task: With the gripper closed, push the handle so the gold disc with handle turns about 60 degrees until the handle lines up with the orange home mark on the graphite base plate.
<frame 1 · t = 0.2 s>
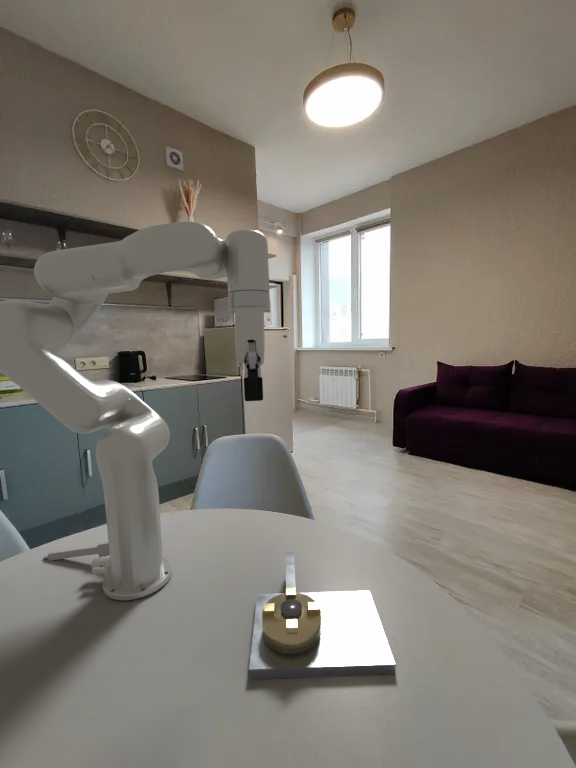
hand: (253, 396, 67), 36 cm above the table, tool pointing down, fingers open, 9 cm apart
base plate: (317, 633, 57), on the table
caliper: (85, 563, 78), on the table, touching arm
gold disc with handle: (290, 592, 61), point 4 cm above the table, hinge at 0.0°
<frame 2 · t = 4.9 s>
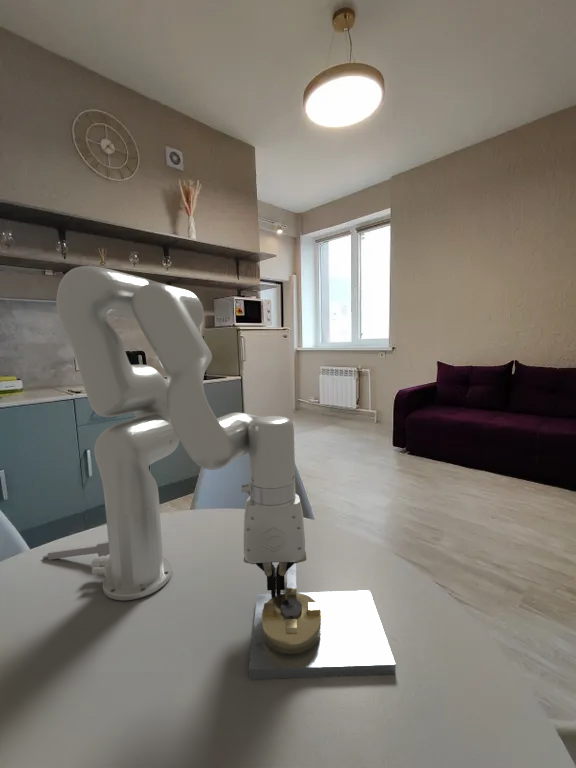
hand: (276, 592, 62), 3 cm above the table, tool pointing down, fingers closed
gold disc with handle: (291, 592, 61), point 4 cm above the table, hinge at 1.7°, touching gripper
everything else where it was.
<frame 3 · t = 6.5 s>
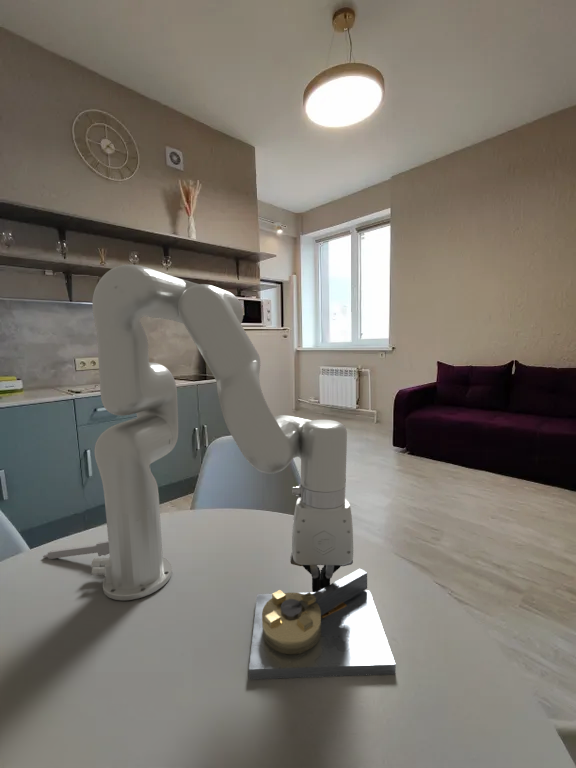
hand: (320, 594, 63), 2 cm above the table, tool pointing down, fingers closed
gold disc with handle: (320, 601, 59), point 4 cm above the table, hinge at 55.2°
everything else where it was.
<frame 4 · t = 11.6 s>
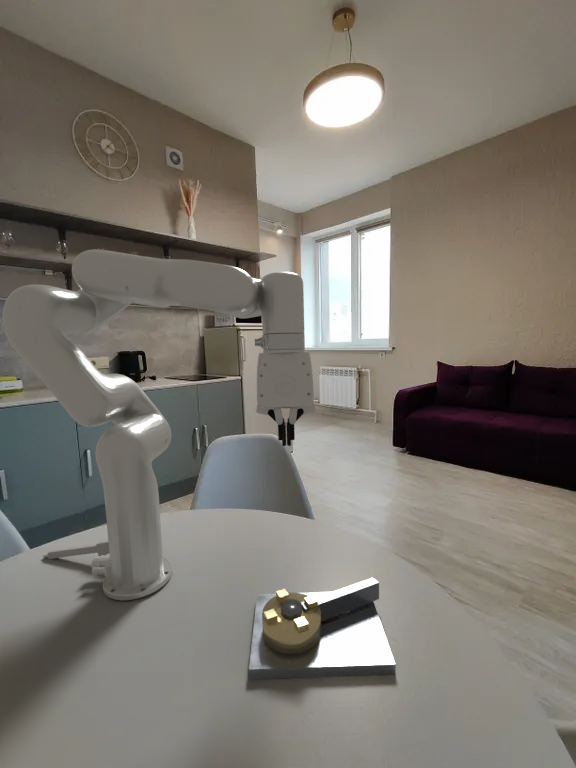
hand: (286, 443, 67), 27 cm above the table, tool pointing down, fingers closed
gold disc with handle: (324, 605, 58), point 4 cm above the table, hinge at 66.2°
everything else where it was.
at the end: gold disc with handle at +66° (first picture: +0°); the gripper is holding nothing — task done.
